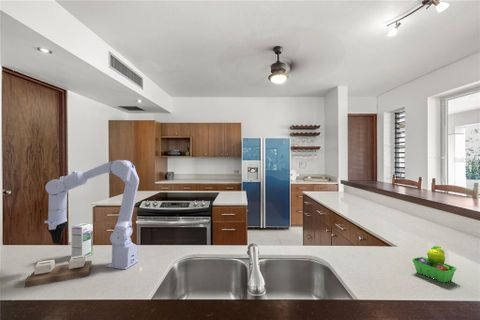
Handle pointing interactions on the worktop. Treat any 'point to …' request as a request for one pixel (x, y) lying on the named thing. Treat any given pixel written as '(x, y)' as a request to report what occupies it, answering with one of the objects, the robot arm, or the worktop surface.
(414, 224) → the worktop surface
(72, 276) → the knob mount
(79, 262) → the white square block
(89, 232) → the syrup box
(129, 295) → the worktop surface
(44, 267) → the knob outer
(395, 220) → the worktop surface
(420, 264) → the fruit basket
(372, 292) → the worktop surface
